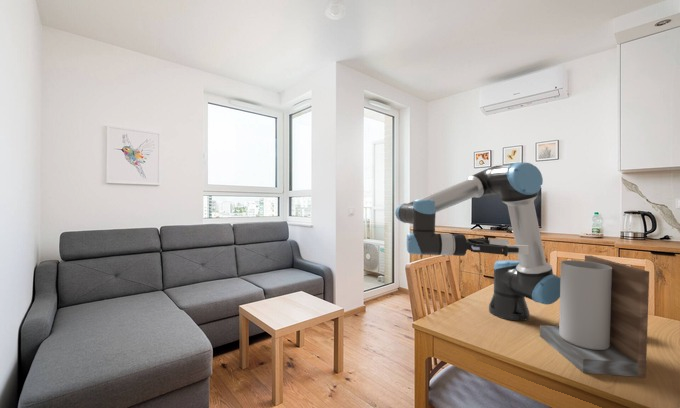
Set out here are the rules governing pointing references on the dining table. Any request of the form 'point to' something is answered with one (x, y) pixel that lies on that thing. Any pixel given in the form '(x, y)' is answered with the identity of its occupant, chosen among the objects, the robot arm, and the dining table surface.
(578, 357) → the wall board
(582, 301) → the cylinder vase
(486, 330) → the dining table surface
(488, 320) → the dining table surface
